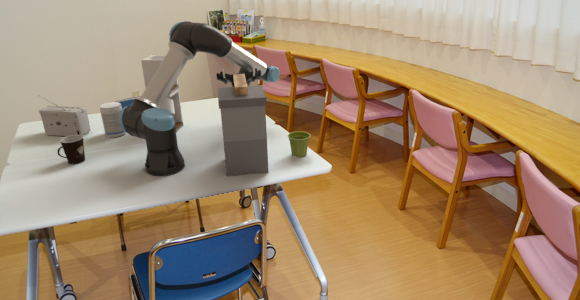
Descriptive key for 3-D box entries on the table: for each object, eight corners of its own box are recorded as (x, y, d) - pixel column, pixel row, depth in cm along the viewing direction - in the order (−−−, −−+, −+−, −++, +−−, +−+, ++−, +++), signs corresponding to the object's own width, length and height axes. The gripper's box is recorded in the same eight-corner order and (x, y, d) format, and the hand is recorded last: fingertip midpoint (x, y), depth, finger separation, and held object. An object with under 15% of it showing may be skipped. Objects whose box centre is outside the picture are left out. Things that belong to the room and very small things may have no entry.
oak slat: (235, 95, 164) (234, 87, 163) (233, 81, 182) (233, 74, 181) (247, 94, 164) (247, 86, 163) (244, 81, 182) (244, 73, 181)
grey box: (225, 176, 170) (218, 100, 158) (224, 158, 186) (218, 87, 174) (269, 172, 172) (266, 97, 161) (265, 155, 188) (262, 85, 176)
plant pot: (297, 148, 194) (297, 129, 190) (315, 153, 188) (315, 134, 185) (283, 155, 187) (282, 136, 184) (301, 161, 182) (301, 141, 178)
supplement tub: (130, 134, 215) (124, 104, 209) (110, 139, 209) (104, 109, 203) (120, 129, 222) (115, 100, 216) (102, 134, 216) (96, 105, 210)
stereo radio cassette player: (92, 132, 219) (83, 92, 211) (81, 138, 211) (72, 97, 203) (55, 130, 223) (45, 91, 215) (43, 136, 216) (32, 95, 208)
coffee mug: (83, 155, 193) (78, 133, 189) (91, 160, 187) (86, 138, 183) (54, 163, 186) (49, 141, 182) (62, 169, 180) (56, 146, 176)
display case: (152, 132, 216) (141, 60, 202) (161, 125, 226) (151, 55, 212) (175, 133, 214) (165, 60, 200) (183, 125, 224) (174, 55, 210)
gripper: (266, 88, 212) (268, 76, 191) (214, 92, 209) (210, 80, 188) (264, 73, 213) (266, 58, 192) (212, 77, 210) (208, 63, 189)
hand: (238, 69), depth 190 cm, fingers open, 12 cm apart
